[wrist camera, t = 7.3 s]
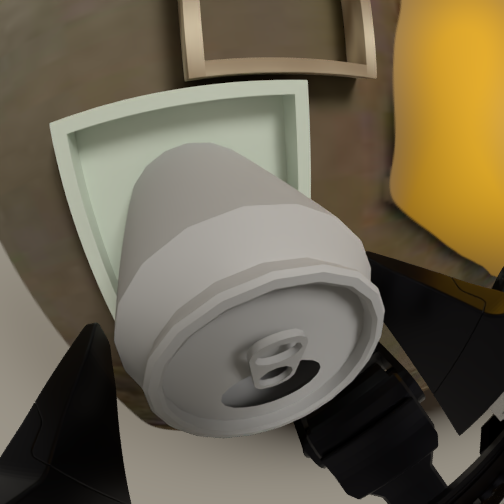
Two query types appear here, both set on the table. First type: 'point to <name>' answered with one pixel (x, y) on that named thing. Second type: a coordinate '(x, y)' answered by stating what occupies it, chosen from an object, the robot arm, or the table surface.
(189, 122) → the tray
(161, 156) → the can
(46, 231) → the table surface
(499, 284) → the beer stein
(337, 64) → the holder
